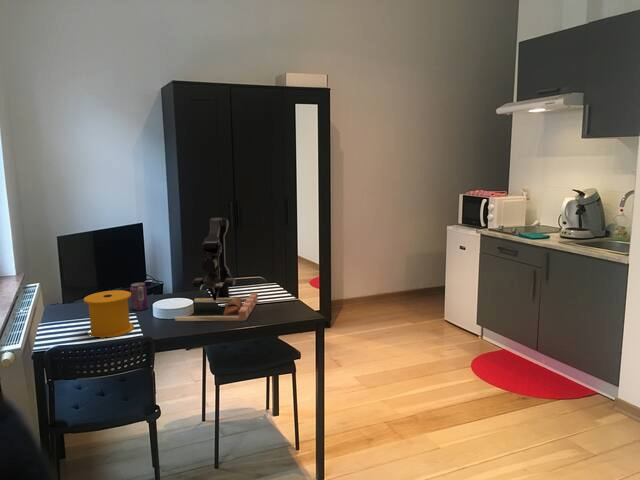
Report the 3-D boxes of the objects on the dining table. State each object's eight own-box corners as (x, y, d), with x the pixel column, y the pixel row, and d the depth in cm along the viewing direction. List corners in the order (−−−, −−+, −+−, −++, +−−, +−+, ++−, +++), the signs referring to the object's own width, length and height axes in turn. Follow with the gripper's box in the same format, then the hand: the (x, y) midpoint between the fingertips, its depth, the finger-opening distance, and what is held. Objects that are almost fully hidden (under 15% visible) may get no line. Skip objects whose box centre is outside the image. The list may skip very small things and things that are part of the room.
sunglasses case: (223, 304, 249) (230, 292, 249) (236, 310, 251) (243, 298, 250) (222, 315, 232) (230, 302, 231) (237, 322, 233) (244, 309, 233)
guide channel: (195, 301, 256) (194, 293, 255) (257, 300, 254) (257, 292, 253) (175, 320, 226) (174, 312, 225) (245, 320, 224) (245, 311, 223)
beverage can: (150, 306, 248) (148, 282, 246) (144, 311, 241) (141, 286, 239) (136, 306, 249) (134, 282, 247) (129, 311, 242) (127, 286, 240)
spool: (87, 341, 204) (83, 304, 202) (87, 327, 220) (83, 293, 218) (135, 333, 211) (132, 298, 209) (132, 321, 227) (129, 287, 225)
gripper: (187, 271, 229) (189, 305, 232) (229, 271, 228) (231, 305, 230) (194, 265, 240) (197, 298, 243) (234, 265, 239) (236, 298, 241)
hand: (215, 300), depth 239 cm, fingers closed
